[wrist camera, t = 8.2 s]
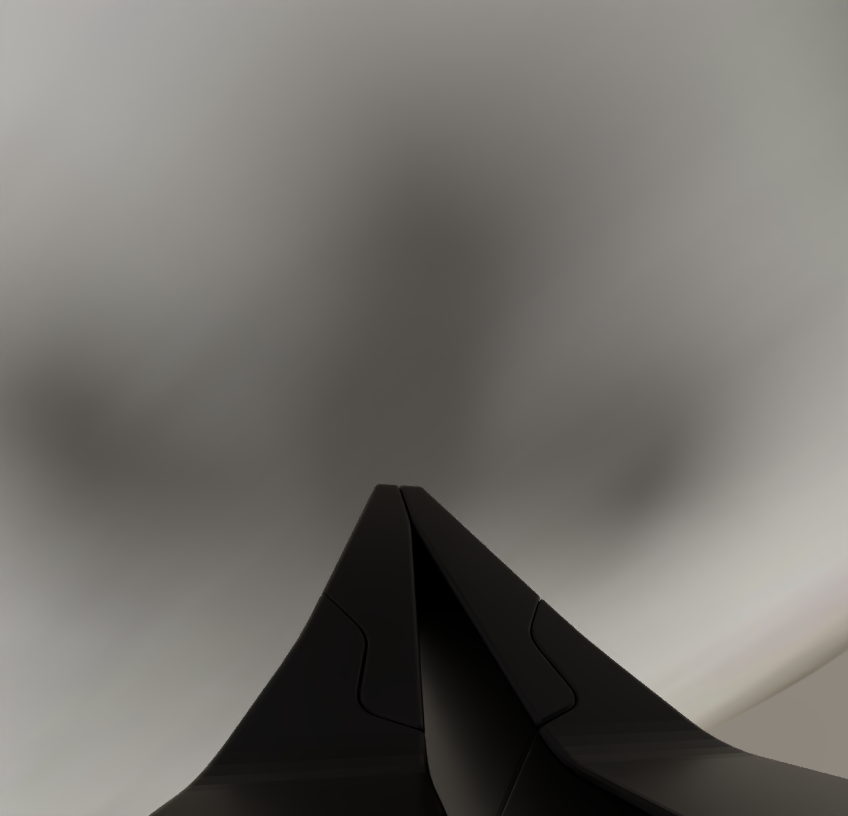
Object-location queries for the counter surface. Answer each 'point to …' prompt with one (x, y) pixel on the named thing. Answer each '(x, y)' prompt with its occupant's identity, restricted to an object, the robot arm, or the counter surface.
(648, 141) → the counter surface
